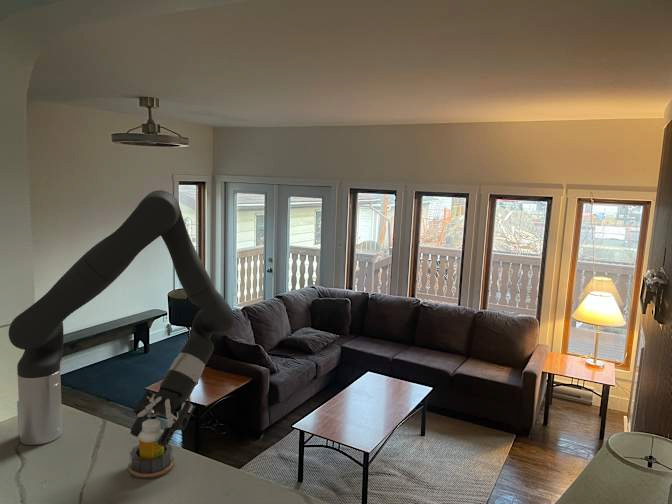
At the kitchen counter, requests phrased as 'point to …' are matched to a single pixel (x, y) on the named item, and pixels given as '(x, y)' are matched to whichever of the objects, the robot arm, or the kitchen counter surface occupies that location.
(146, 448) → the supplement bottle
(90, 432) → the kitchen counter surface
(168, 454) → the collar mount
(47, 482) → the kitchen counter surface
